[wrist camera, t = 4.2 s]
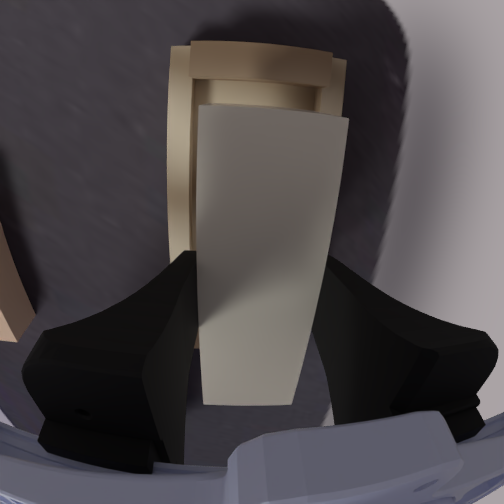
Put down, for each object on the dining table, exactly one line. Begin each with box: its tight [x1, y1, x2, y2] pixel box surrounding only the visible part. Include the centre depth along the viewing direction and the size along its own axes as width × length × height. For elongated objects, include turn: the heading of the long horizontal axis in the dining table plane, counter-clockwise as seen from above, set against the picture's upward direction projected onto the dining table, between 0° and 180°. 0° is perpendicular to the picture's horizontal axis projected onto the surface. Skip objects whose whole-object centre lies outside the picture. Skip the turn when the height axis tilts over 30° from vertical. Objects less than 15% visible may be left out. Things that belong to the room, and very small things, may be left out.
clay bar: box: [196, 103, 349, 405], centre depth 12 cm, size 12×4×4 cm, turn 176°
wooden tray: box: [167, 41, 347, 349], centre depth 18 cm, size 18×9×4 cm, turn 176°
